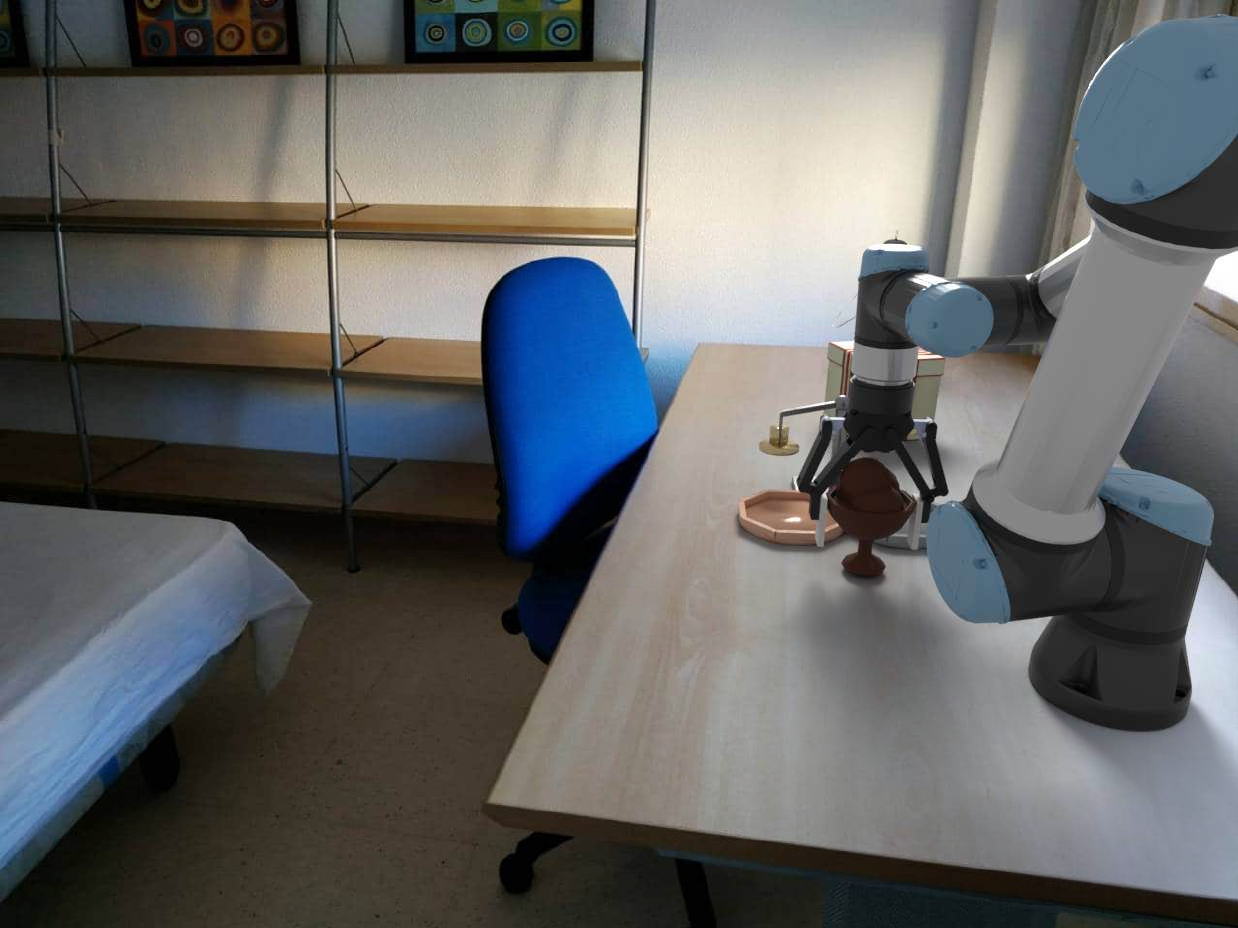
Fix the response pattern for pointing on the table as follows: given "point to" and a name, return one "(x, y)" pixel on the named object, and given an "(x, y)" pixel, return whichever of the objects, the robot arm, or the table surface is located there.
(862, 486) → the ice cream bowl
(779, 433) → the balance
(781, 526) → the terracotta dish
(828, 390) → the gift box
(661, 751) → the table surface
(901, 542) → the slate dish
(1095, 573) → the robot arm
